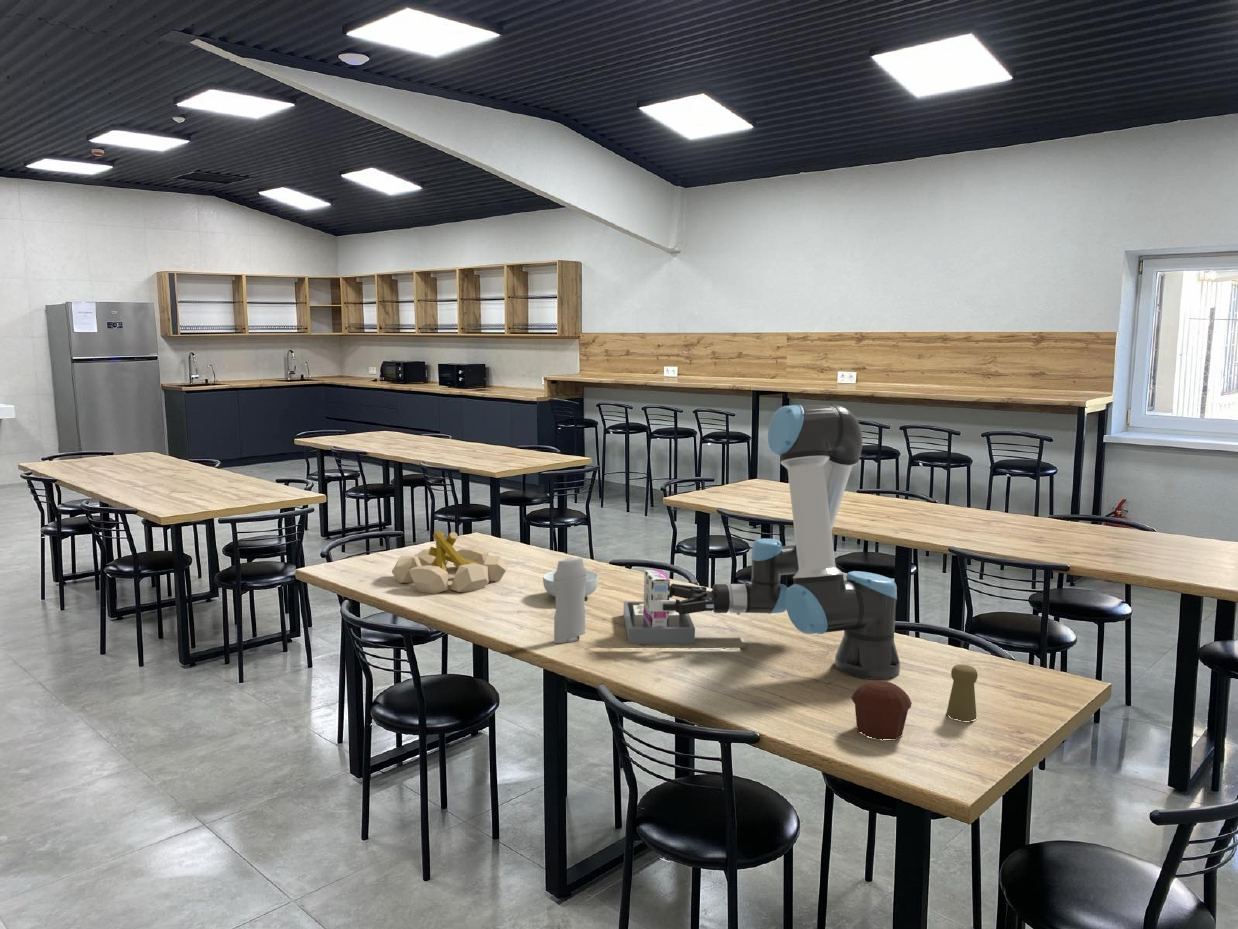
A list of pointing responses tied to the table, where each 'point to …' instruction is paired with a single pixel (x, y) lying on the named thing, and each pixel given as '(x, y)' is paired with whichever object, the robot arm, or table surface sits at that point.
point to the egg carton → (639, 617)
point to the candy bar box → (655, 597)
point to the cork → (963, 693)
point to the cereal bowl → (589, 585)
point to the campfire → (432, 562)
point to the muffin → (881, 709)
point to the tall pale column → (569, 600)
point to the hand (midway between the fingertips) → (647, 598)
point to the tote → (658, 629)
